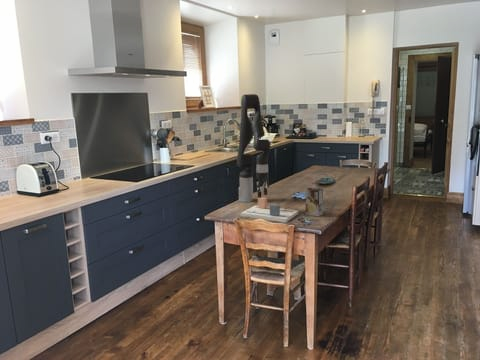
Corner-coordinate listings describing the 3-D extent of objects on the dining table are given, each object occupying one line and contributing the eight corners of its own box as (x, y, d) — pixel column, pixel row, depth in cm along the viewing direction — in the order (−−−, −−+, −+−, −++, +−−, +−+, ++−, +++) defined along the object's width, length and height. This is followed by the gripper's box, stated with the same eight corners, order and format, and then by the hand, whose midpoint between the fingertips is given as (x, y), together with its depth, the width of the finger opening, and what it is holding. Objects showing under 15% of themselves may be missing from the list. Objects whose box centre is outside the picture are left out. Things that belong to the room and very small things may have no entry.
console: (241, 215, 254) (240, 212, 254) (255, 208, 271) (255, 205, 271) (286, 222, 240) (286, 218, 239) (298, 213, 257) (298, 210, 256)
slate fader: (269, 214, 246) (269, 205, 245) (272, 213, 249) (272, 203, 248) (277, 215, 244) (277, 206, 243) (279, 214, 247) (279, 204, 246)
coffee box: (323, 214, 255) (323, 188, 252) (318, 216, 250) (319, 190, 247) (309, 212, 260) (309, 187, 257) (305, 214, 255) (305, 189, 252)
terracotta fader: (257, 207, 263) (257, 198, 262) (260, 206, 266) (260, 197, 265) (264, 208, 261) (264, 199, 260) (267, 207, 264) (267, 197, 263)
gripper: (261, 169, 267) (262, 193, 270) (251, 172, 255) (252, 198, 258) (272, 169, 263) (272, 194, 266) (262, 173, 251) (263, 199, 254)
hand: (262, 196), depth 262 cm, fingers open, 8 cm apart
